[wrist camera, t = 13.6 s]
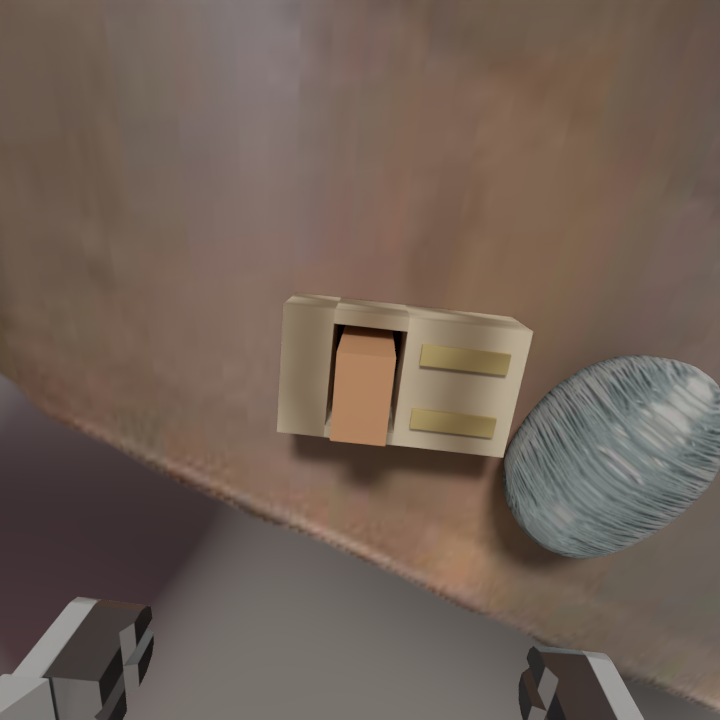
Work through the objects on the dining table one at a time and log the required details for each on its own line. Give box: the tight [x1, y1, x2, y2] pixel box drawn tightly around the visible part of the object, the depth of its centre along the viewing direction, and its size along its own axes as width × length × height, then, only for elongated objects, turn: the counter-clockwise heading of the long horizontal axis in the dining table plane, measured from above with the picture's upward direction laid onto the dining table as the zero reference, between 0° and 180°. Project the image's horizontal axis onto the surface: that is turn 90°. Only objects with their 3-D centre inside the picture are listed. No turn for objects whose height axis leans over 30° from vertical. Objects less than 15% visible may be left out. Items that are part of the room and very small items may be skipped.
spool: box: [503, 355, 720, 559], centre depth 26 cm, size 14×10×10 cm
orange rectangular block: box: [330, 325, 396, 446], centre depth 25 cm, size 3×5×7 cm, turn 175°
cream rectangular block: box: [277, 293, 533, 458], centre depth 27 cm, size 14×8×4 cm, turn 84°
